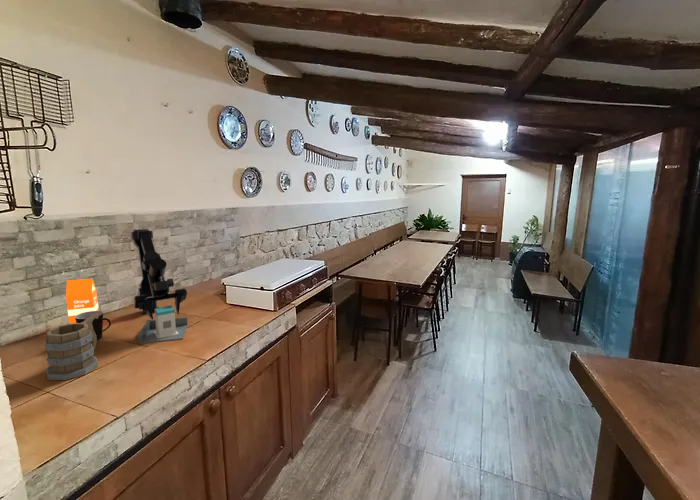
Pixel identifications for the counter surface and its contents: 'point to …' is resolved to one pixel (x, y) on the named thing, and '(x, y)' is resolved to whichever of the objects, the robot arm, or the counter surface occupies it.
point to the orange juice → (80, 297)
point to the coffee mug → (94, 322)
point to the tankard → (71, 349)
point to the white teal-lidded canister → (165, 321)
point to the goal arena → (150, 335)
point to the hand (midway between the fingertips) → (165, 316)
